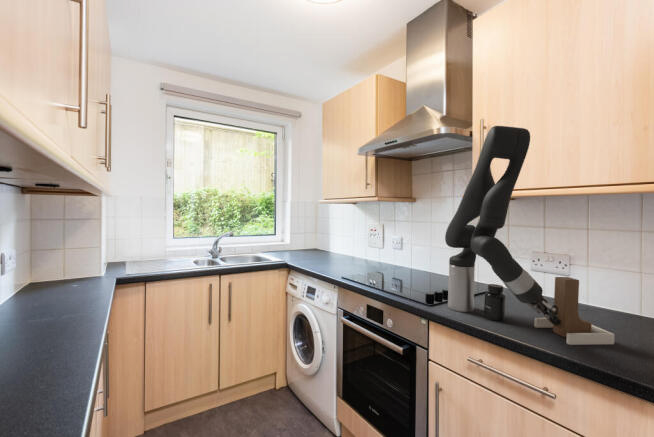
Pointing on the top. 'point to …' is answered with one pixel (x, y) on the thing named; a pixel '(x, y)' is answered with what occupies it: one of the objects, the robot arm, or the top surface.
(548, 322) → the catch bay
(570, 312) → the wooden block
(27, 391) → the top surface
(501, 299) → the supplement bottle
